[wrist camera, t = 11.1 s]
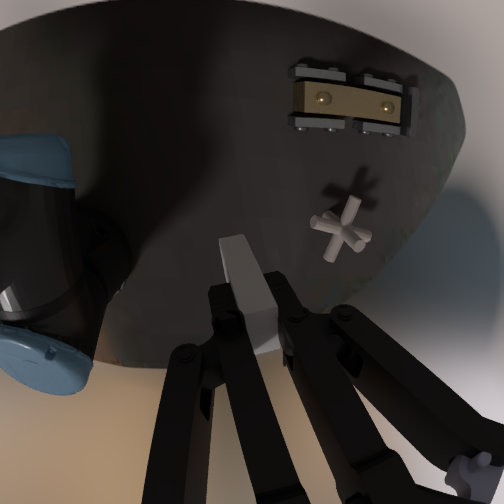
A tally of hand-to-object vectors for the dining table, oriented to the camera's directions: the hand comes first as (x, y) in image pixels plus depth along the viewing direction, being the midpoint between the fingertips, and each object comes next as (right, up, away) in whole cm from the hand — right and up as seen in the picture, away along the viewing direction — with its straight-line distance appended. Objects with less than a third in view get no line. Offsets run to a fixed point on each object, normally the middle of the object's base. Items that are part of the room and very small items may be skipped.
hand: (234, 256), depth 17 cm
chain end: (+9, +21, +17) cm, 28 cm away
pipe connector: (+13, +6, +26) cm, 30 cm away
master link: (+14, +22, +18) cm, 31 cm away
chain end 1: (+20, +22, +18) cm, 35 cm away
